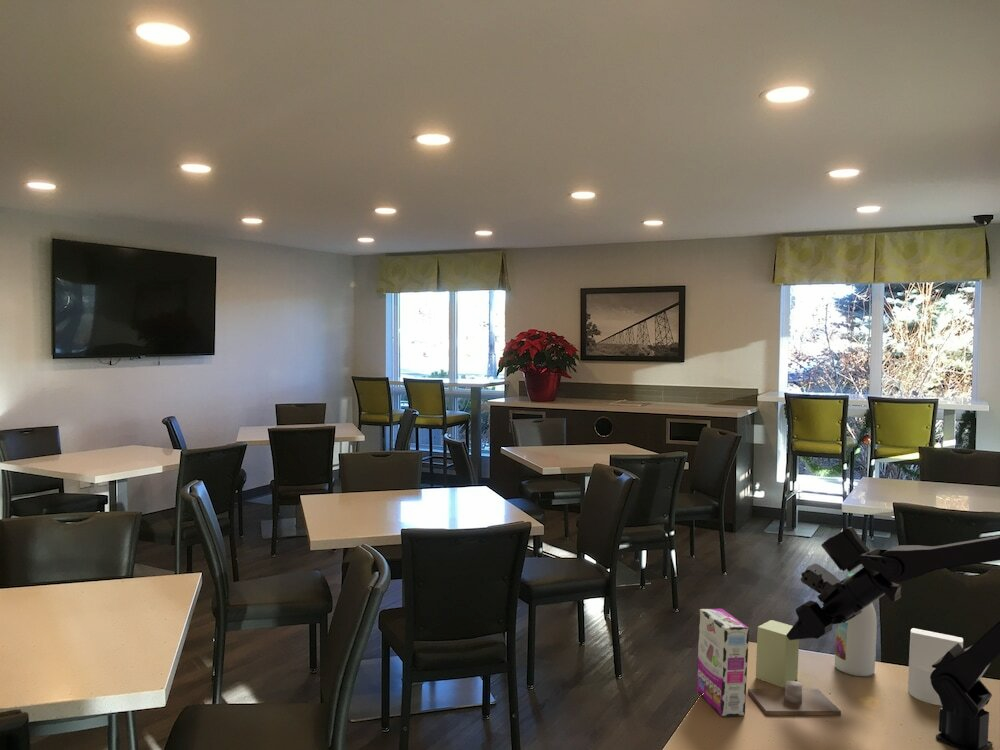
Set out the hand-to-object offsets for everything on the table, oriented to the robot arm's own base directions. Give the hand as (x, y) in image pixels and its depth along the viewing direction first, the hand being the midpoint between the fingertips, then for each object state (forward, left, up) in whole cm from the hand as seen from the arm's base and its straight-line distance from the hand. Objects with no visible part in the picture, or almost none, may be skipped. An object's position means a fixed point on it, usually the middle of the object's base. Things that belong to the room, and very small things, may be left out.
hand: (798, 631), depth 155 cm
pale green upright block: (+4, +1, -11) cm, 12 cm away
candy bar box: (+2, +19, -11) cm, 22 cm away
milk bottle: (-1, -18, -11) cm, 21 cm away
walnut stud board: (-5, +7, -11) cm, 14 cm away
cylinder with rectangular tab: (-16, -21, -11) cm, 28 cm away
